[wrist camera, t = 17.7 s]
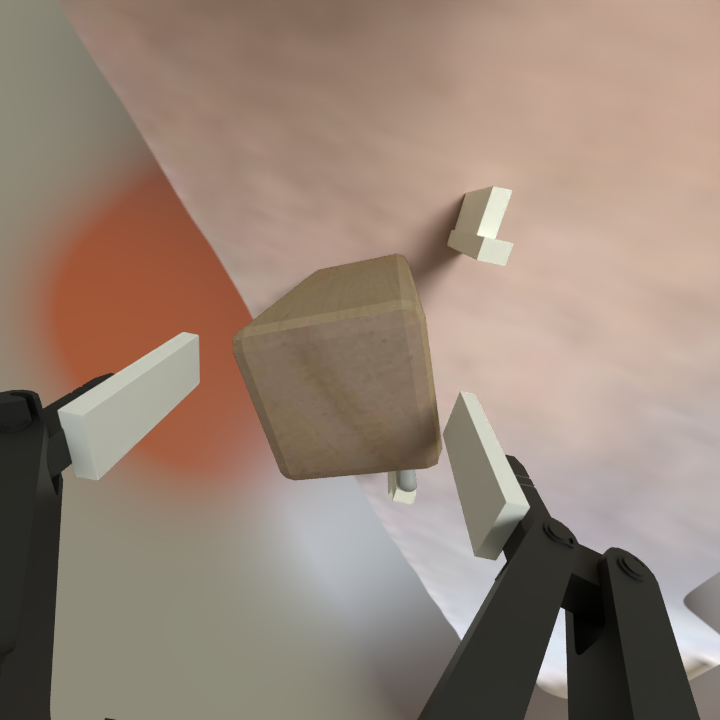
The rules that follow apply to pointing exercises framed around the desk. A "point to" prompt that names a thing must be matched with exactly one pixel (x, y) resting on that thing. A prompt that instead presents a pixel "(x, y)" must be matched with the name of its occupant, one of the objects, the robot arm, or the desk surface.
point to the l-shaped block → (479, 243)
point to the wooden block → (344, 373)
